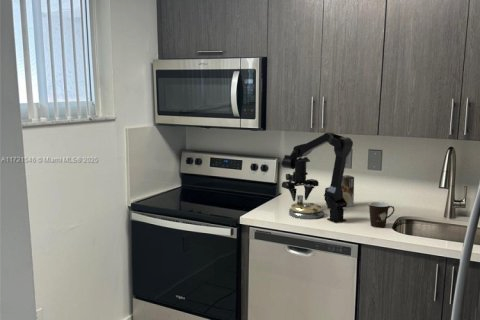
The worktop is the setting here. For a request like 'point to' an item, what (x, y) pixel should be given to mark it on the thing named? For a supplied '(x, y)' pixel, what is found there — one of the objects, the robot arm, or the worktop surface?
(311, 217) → the housing
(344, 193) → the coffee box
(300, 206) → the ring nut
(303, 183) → the robot arm
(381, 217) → the coffee mug
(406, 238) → the worktop surface
